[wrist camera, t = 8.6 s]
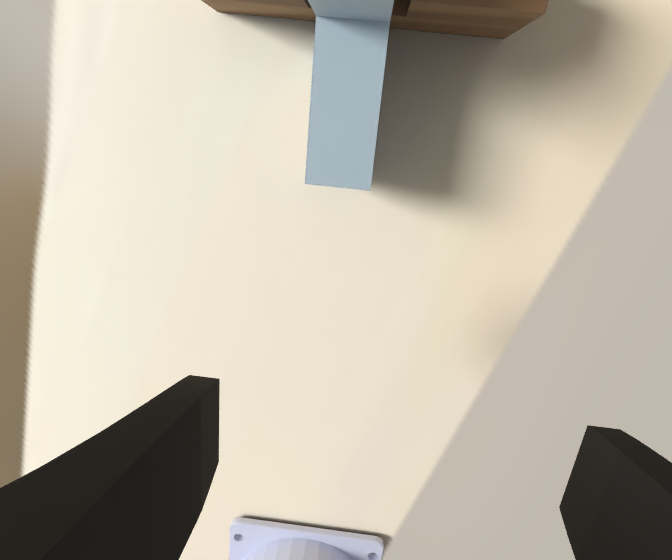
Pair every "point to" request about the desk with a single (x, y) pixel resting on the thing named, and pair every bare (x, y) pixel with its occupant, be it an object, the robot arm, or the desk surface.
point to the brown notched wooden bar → (416, 14)
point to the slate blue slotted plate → (346, 91)
